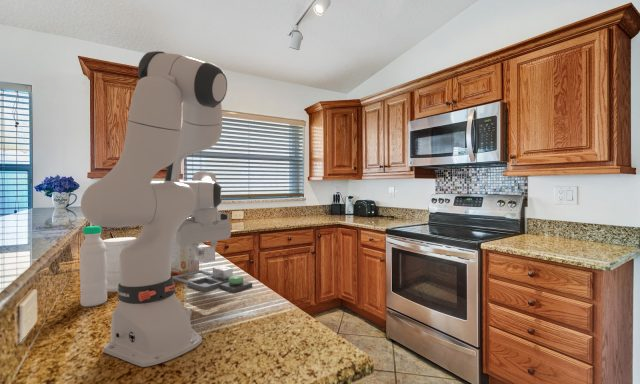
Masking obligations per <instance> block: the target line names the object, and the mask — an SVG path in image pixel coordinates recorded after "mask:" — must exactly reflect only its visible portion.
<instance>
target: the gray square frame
mask: <svg viewBox="0 0 640 384" xmlns="http://www.w3.org/2000/svg"><path fill="white" fill-rule="evenodd" d="M196 274H204V275H207V276H211V275H213V272H210V271H206V270H203V269H199V270H198V271H194V272H189V273H185V274H177V275H173V276H172V278H173V281H174V280H175V281H177V282H178V281H179V282H180V283H184V284H186V285H187V282H189V280H186V279H184V277H186V276H192V275H196Z"/></svg>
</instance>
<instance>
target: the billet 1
mask: <svg viewBox="0 0 640 384" xmlns="http://www.w3.org/2000/svg"><path fill="white" fill-rule="evenodd" d="M197 247H198V249H199V250H201V255H200V256H195V260H197V261H199V263H200V262H202V263H205V264H206V263H211V262H215V261H216V247H213V246H211V245H206V244H199V246H197ZM194 255H195V250H194Z"/></svg>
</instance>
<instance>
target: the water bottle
mask: <svg viewBox="0 0 640 384" xmlns="http://www.w3.org/2000/svg"><path fill="white" fill-rule="evenodd" d="M102 230H103V229H102V226H94V225H91V226H89V225H88V226H85V227H84V228H83V229H82V232H83V236H84V240H83V241H82V244H80V247H79V250H78V252H79V278H80V285H79V291H80V298H79V299H80V301H79V302H80V306H82V307H83V308H84V307H85V308H89V307H95V306H99V305H103V304H105V302H107V301H108V292H107V290H106V289H107V281H106V272H107V266H106V253H105V251H106V246H105V244H104V243H103V240H104V239H103V238H101V234H102V232H103V231H102Z"/></svg>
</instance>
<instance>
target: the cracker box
mask: <svg viewBox="0 0 640 384" xmlns="http://www.w3.org/2000/svg"><path fill="white" fill-rule="evenodd" d="M176 234H177V233H176ZM198 270H200V261H197V260H195V255H194V249H193V247H192V244H191V245H185V246H181V245H178V244H177V243H176V235H175V238H174V241H173V244H172V250H171V274H172V273H173V274H177V275H181V274H185V273H189V272H194V271H198Z"/></svg>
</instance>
